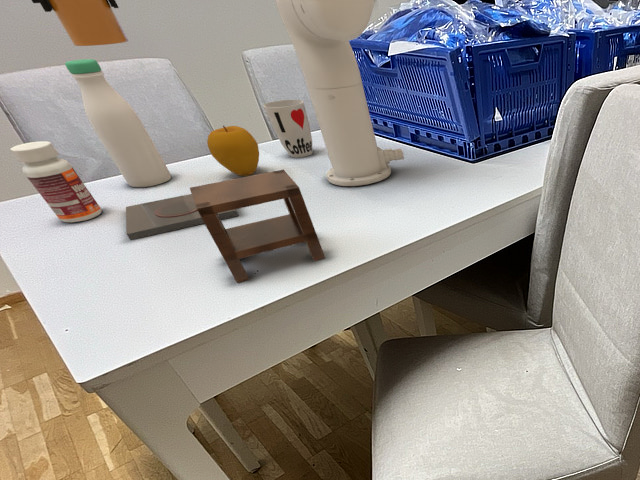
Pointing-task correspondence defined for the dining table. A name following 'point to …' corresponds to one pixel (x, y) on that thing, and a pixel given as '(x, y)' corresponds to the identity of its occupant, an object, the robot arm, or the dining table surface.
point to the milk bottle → (118, 127)
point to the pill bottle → (56, 182)
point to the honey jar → (89, 22)
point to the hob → (165, 216)
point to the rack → (260, 233)
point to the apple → (234, 149)
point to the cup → (291, 126)
